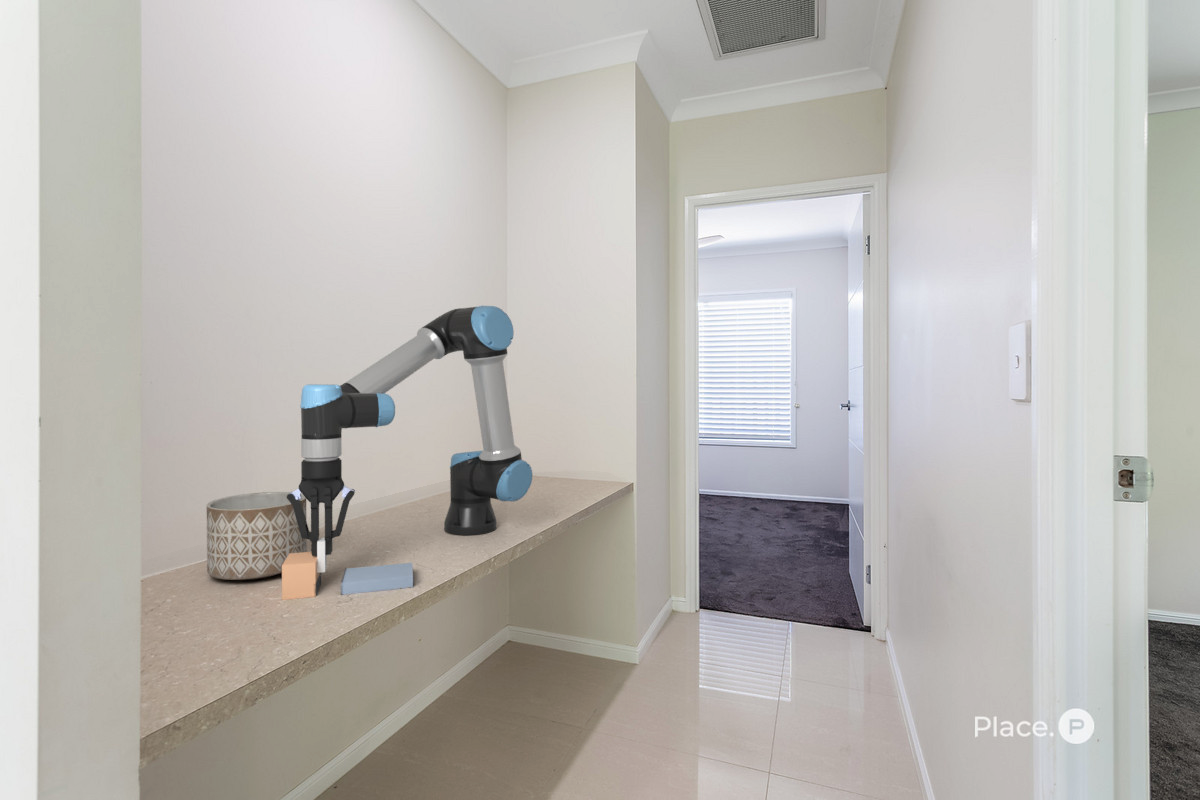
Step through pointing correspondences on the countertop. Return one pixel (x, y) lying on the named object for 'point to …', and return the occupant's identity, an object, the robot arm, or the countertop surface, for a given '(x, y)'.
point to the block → (300, 576)
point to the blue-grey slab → (377, 578)
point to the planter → (252, 535)
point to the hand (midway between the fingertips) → (322, 570)
